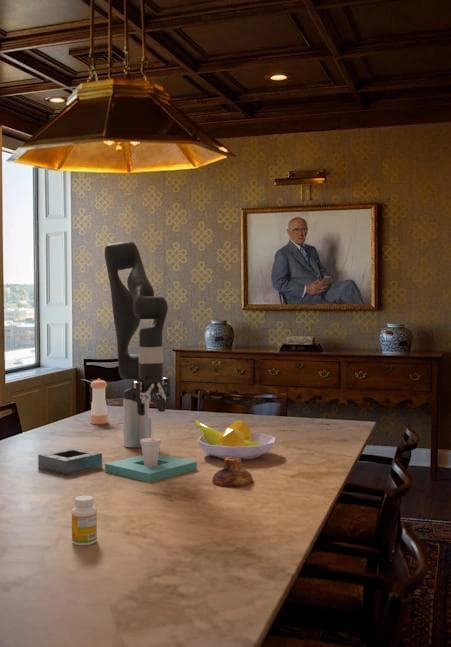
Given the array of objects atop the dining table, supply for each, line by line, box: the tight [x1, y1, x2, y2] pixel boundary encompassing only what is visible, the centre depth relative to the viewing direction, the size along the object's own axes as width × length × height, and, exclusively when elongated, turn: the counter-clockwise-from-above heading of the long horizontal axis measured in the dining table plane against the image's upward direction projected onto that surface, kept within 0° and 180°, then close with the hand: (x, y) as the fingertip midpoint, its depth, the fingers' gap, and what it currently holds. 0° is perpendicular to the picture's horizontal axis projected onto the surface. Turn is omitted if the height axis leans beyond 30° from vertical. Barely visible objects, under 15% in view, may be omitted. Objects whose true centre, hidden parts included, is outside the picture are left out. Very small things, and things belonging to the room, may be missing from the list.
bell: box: [211, 457, 254, 488], centre depth 205 cm, size 12×12×7 cm
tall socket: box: [37, 447, 103, 477], centre depth 223 cm, size 14×14×4 cm
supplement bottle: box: [71, 495, 98, 547], centre depth 155 cm, size 5×5×10 cm
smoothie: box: [140, 425, 162, 467], centre depth 219 cm, size 6×6×14 cm
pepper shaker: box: [90, 378, 109, 425], centre depth 305 cm, size 7×7×19 cm
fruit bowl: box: [194, 419, 276, 461], centre depth 240 cm, size 28×27×11 cm
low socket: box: [104, 453, 198, 483], centre depth 219 cm, size 20×20×2 cm
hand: (151, 413), depth 219 cm, fingers open, 8 cm apart
